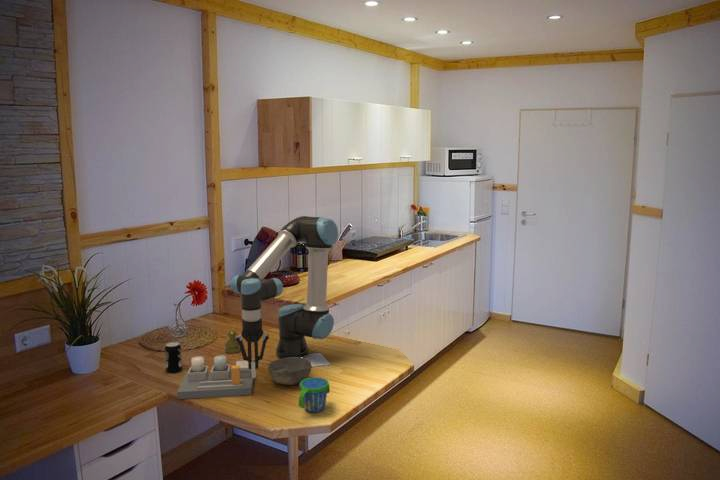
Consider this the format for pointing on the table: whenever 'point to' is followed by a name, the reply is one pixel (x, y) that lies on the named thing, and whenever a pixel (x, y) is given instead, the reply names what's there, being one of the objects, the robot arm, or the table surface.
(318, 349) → the table surface
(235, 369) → the orange slider
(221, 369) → the pale blue rounded cube
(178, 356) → the beverage can
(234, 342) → the green figurine
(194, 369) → the white rounded cube
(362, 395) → the table surface
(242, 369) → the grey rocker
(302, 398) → the snack cup
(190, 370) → the console
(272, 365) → the bowl
